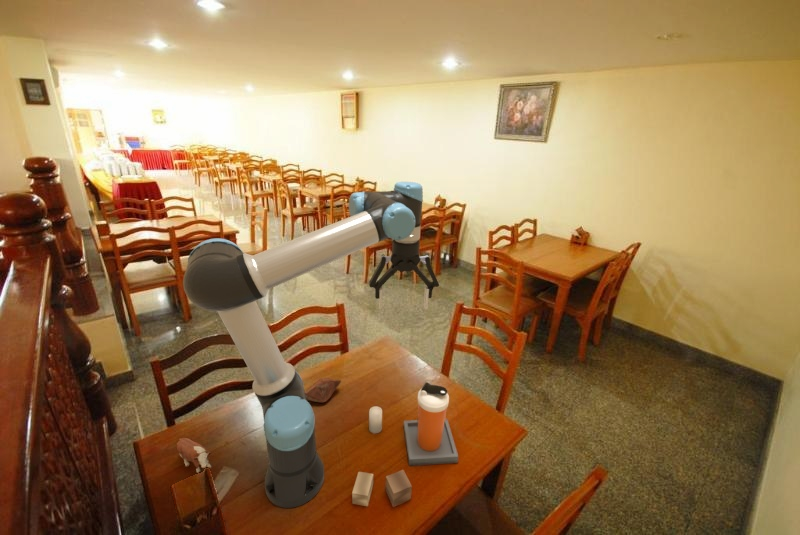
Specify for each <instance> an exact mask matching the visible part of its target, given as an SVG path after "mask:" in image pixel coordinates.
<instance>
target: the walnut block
mask: <svg viewBox="0 0 800 535" xmlns="http://www.w3.org/2000/svg"><path fill="white" fill-rule="evenodd" d="M384 486H385V488H384V490H385V492H386V494H387V497H388V499H389V501H390V504H391V506H392V507H393V508H394V507H396V506H399V505H401V504H404V503H406V502H408V501H410V500H411V499H412V490H413V489H412V488H413V486H412V484H411V482H410V479H409V477H408V476H407V475H406V472H405V470H404V469H401V470H399V471H396V472H394V473H391V474H389V475H386V476H385V485H384Z"/></svg>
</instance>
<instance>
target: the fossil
mask: <svg viewBox="0 0 800 535" xmlns="http://www.w3.org/2000/svg"><path fill="white" fill-rule="evenodd" d="M341 383H342V380H339V379H332V378H327V377H324V378H321V377H320V378H319V379H318V380H317V381H316V382H315V383H314V384H313V385H312V386H310V388H308V390H306V391H305V395H306V398H307V401H311V402H315V403H325V402H327V401H329V399H330V398H331V397H332V395H333V394H334V392H335V391H336V389H337V388H338V387H339V385H340V384H341Z"/></svg>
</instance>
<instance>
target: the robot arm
mask: <svg viewBox="0 0 800 535" xmlns="http://www.w3.org/2000/svg"><path fill="white" fill-rule="evenodd" d="M423 193H424V192H423V186H422V185H421V184H420V183H419V182H413V181H398V182H396V183H395V184H394V188H393V190H389V191H386V190H385V191H384V190H383V191H365V190H363V191H359V192H353V193H351V195H350V196H349V198H348V199H349V200H348V211H349V217H345V218H344V219H342V220H339V221H335V222H334V223H331V224H329V225H326V226H324V227H321V228H318V229H316V230H313V231H311V232H307V233H306V234H304V235H301V236H299V237H296V238H292V239H290V240H289V241H286V242H283V243H281V244H279V245H276V246H273V247H271V248H267V249H265V250H263V251H261V252H258V253H256V254H249V253H247V252H243V250H242V249H241V247H239V245H237V244H236V243H235V242H233V241H230V240H228V239H226V238H219V237H218V238H210V239H206V240H203V241H202V242H200V243H199V244H197V245H196V246H195V247H194V248H193V250H192V251H191V252H190V253H189V256H188V259H187V265H186V269H185V272H184V275H183V279H182V284H183V285H182V286H183V291H184V293H185V295H186V297H187V298H188V300H189V301H190V302H191V303H192V304H193V305H195V306H196V307H198V308H200V309H202V310H205V311H209V312H217V313H218V315H219V317H220V320H222V323H223V324H224V326H225V329H227V330H226V331H228V334H229V335H230V337H231V339H232V341H233V343H234V344H235V347H236V348H237V350H238V352H239V354H240V356H241V357H242V360H243V361H244V362H245V364H246V366H247V368H248V370H249V372H250V373H251V376H252V377H253V382H252V390H253V393H254V394H255V397H256V398H257V400H258V402H259V404H260V405H261V406H260V407H261V409H262V415H263V432H264V436H265V442H266V443H265V444H266V448H267V456H268V466H267V470H266V473H265V476H264V489H265V494H266V497H267V499H268V500H269V502H270V503H272V504H273V505H275V506H277V507H279V508H284V509H285V508H286V509H291V508H296V507H300V506H303V505H305V504H306V503H308V502H309V501H311V500H312V499H314V497H315V496H317V494H319V491H320V490H321V489H322V487H323V484H324V480H325V467H324V463H323V461H322V459H321V457H320V456H319V454H318V452H317V448H316V446H317V444H316V430H315V424H316V421H315V413H314V410H313V408H312V407H313V406H312V405H311V404H310V402H308V401H309V400H307V398H306V395H305V393H306V391H305V386H304V382H303V379H302V377H301V376H300V374H299V373H298V371H296V369H295V366H294V365H292V364H291V363H290V362H285V359H284V357H283V355H282V353H281V351H280V348H279V347H278V344H277V342H276V341H275V338H274V336H273V335H272V332H271V329H270V328H269V325H268V323H267V321H266V320H265V317H264V316H263V313H262V311H261V309H260V306H259V305H258V303H257V301H258V300H260V299H262V298H265V297H266V296H267V294H268V291H269V290H270V289H273V288H275V287H278V286H280V285H282V284H285V283H287V282H290V281H292V280H294V279H297V278H299V277H301V276H304V275H305V274H307V273H310V272H312V271H315V270H316V269H319V268H321V267H324V266H326V265H329V264H331V263H334V262H336V261H338V260H340V259H343V258H345V257H347V256H349V255H352V254H354V253H356V252H359V251H361V250H363V249H366V248H368V247H370V246H373V245H375V244H377V243H380V242H382V241H385V240H388V239H391V240H392V250H391V251H392V252H391V255H390V256H389V255H388V256H387V255H385V254H381V255H380V261H379V263H378V265H377V267H376V269H375V271H374V272H373V274H372V276H371V277H370V279H369V281H368V282H369V288H374V289H375V290H374V291H375V292H374V294H375V295H374V296H375V299H377V300H378V311H382V309H383V285H385V283H386V282H388V281H389V279H390V278H391V277H392V276H394V274H396V273H397V272H399V273H402V272H407V273H411V272H412V271H414V273H415V274H416V275H417V276H418V277H419V278H420V279H421V281H422V282H423V283H424V284H425V285H424V293H423V294H424V295H423V307H424V310H428V307H429V299H432V296H433V290H434V288H438V287H439V286H440V284H439V280H438V279H437V277H436V274H435V273H434V270H433V268H432V266H431V259H430V256H429V255H428V254H425V255H423V256H420V243H421V242H420V239H421V226H422V225H421V224H422V211H423V210H422V209H423V202H424V200H423V197H424V195H423ZM389 262H391V265H390V266H389V268H388V269H387V270H386V272H384V274H383V275H381V274H382V272H383V270H384V268H385V266H386V265H387V264H388V263H389ZM420 262H422V264H423V265H425V267H426V268H427V269H426V270H427V271H428V273H429V276H430V278H431V280H432V281H430V280H429V278H428V277H427V276H426V275H425V273H424V272H423V271H422V270H421V268H419V266H418V265H419V264H420ZM380 276H381V277H380Z"/></svg>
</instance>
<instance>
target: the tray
mask: <svg viewBox="0 0 800 535" xmlns="http://www.w3.org/2000/svg"><path fill="white" fill-rule="evenodd" d="M450 426H451V425H450V424H449V420H448V418H445V422H444V428H443V434H442V440H441V445H440V447H439V448H438V449H437V450H435V451H426V450H424V449H422V448H421V447H420V446H419V444H418V419H414V420H412V419H411V420H403V431H404V440H405V446H406V454H407V459H408V465H409V467H412V466H413V467H414V466H425V465H426V466H428V465H429V466H430V465H431V466H432V465H442V464H443V465H446V464H458V463H459V454H458V450H457V447H456V444H455V441H454V437H453V434H452V430H451V427H450Z"/></svg>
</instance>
